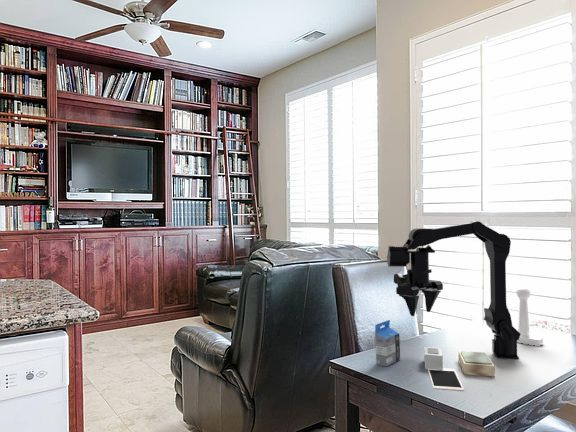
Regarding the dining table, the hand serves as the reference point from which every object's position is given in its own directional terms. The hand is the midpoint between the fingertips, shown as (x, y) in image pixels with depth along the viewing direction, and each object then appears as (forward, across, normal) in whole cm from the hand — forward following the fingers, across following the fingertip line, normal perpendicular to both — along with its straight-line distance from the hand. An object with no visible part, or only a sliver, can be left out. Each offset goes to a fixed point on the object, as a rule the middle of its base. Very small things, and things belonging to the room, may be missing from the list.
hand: (420, 313), depth 141 cm
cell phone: (+14, +14, +16) cm, 25 cm away
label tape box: (+14, +14, -3) cm, 20 cm away
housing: (+14, +6, +8) cm, 17 cm away
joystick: (+14, -42, +16) cm, 47 cm away
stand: (+14, -1, +18) cm, 22 cm away
